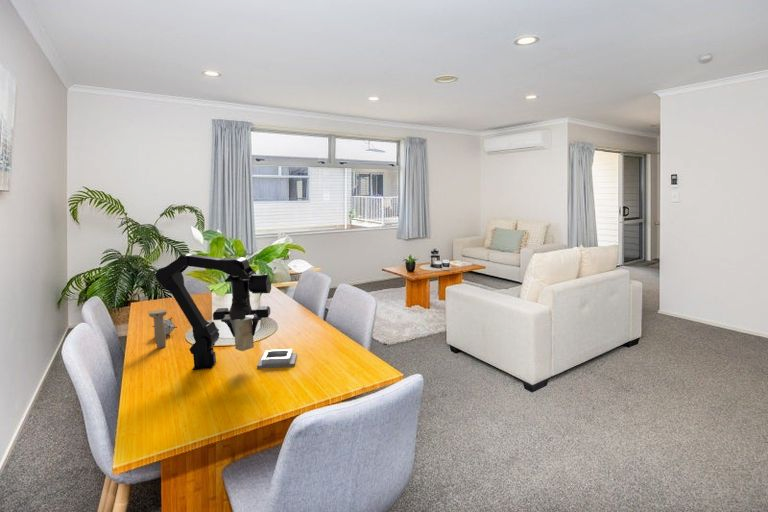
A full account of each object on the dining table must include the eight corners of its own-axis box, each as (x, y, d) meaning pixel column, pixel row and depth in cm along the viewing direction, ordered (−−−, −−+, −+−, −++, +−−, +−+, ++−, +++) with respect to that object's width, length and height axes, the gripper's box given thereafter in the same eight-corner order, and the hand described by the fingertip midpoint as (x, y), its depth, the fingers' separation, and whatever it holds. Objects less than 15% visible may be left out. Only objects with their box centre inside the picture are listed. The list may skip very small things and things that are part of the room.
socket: (257, 368, 150) (256, 360, 150) (262, 357, 160) (261, 350, 160) (294, 366, 152) (293, 358, 151) (297, 355, 161) (296, 348, 161)
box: (242, 351, 148) (239, 321, 147) (235, 349, 151) (232, 319, 149) (254, 347, 153) (252, 317, 151) (247, 344, 155) (245, 315, 154)
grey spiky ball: (162, 343, 189) (154, 323, 191) (181, 334, 192) (173, 314, 194) (156, 339, 181) (147, 319, 183) (176, 330, 183) (167, 310, 186)
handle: (169, 347, 172) (166, 312, 170) (151, 350, 170) (148, 314, 168) (170, 343, 177) (167, 309, 175) (153, 346, 174) (149, 311, 172)
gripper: (206, 300, 140) (210, 345, 142) (264, 298, 142) (266, 342, 144) (215, 292, 151) (219, 334, 153) (269, 290, 153) (271, 331, 155)
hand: (243, 336), depth 151 cm, fingers closed on box, 6 cm apart
